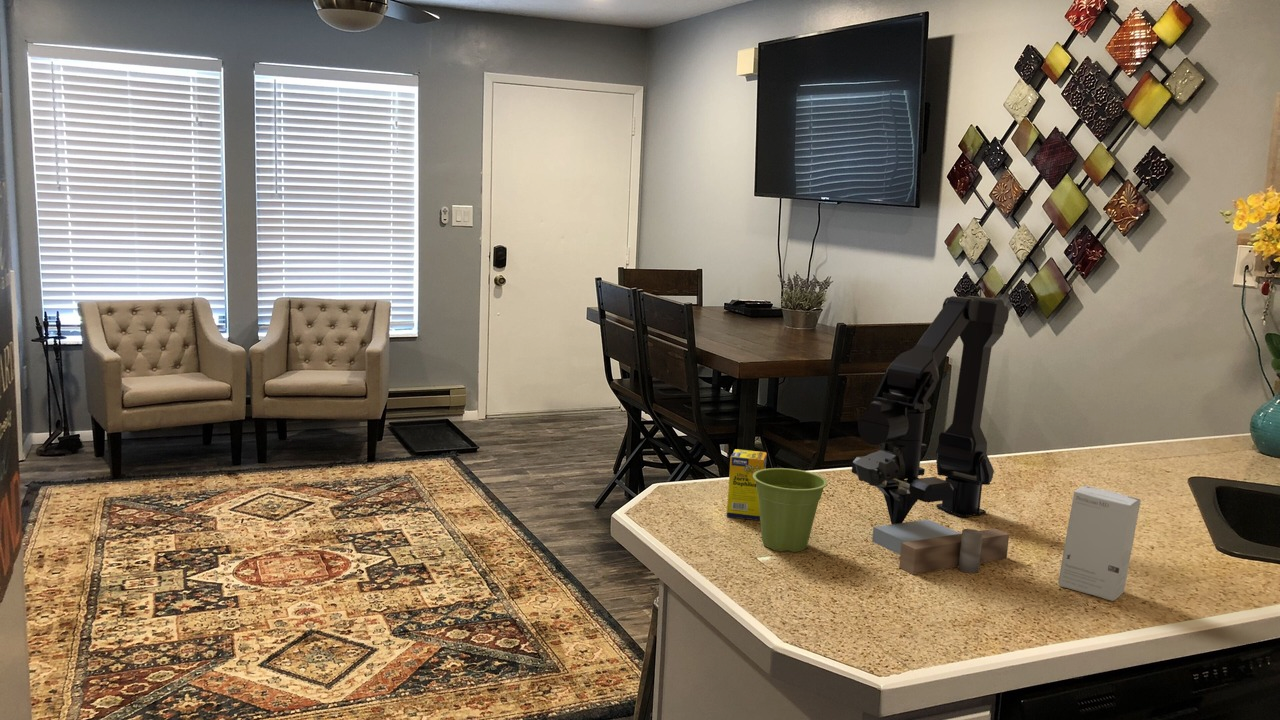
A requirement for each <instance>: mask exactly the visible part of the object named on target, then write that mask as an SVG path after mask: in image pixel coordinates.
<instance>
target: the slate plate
mask: <svg viewBox="0 0 1280 720" xmlns="http://www.w3.org/2000/svg"><path fill="white" fill-rule="evenodd" d="M955 534H962V532H958V531H957V530H954V529H951V528H949V527H947V526H944V525H942V524H939V523H938V522H935V521H933V520H930V519H928V518H927V519H921V520H919V519H918V520H913V521H906V522H902V523H898V524H891V523H890V524H885V525H878V526H873V529H872V538H871V540H872V541H871V542H872V543H874V544H877V545H878V546H879V547H880V546H881V547H883V548H885V549H886V550H889V551H891V552H893V553H895V554H898V555H900V553H901V543H903V542H910V541H916V540H923V539H929V538H936V537H942V536H949V535H955Z"/></svg>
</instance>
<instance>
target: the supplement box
mask: <svg viewBox="0 0 1280 720" xmlns="http://www.w3.org/2000/svg"><path fill="white" fill-rule="evenodd" d="M767 455H768V454H767V452H766V451H755V450H749V449H739V448H737V449H736V448H735V449H734V450H733V453H732V454H731V455H730V457H729V458H730V459H729V460H730V461H729V474H728V475H729V478H728V491H727V503H726V505H727V507H726V517H728V518H737V519H746V520H753V521H760V509H759V497H758V493H757V487H756V481H755V480H754V479H753V474H754V473H755V472H756V471H759V470H763V469H767V468H766V467H767V466H766V465H767V457H768V456H767Z"/></svg>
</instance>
